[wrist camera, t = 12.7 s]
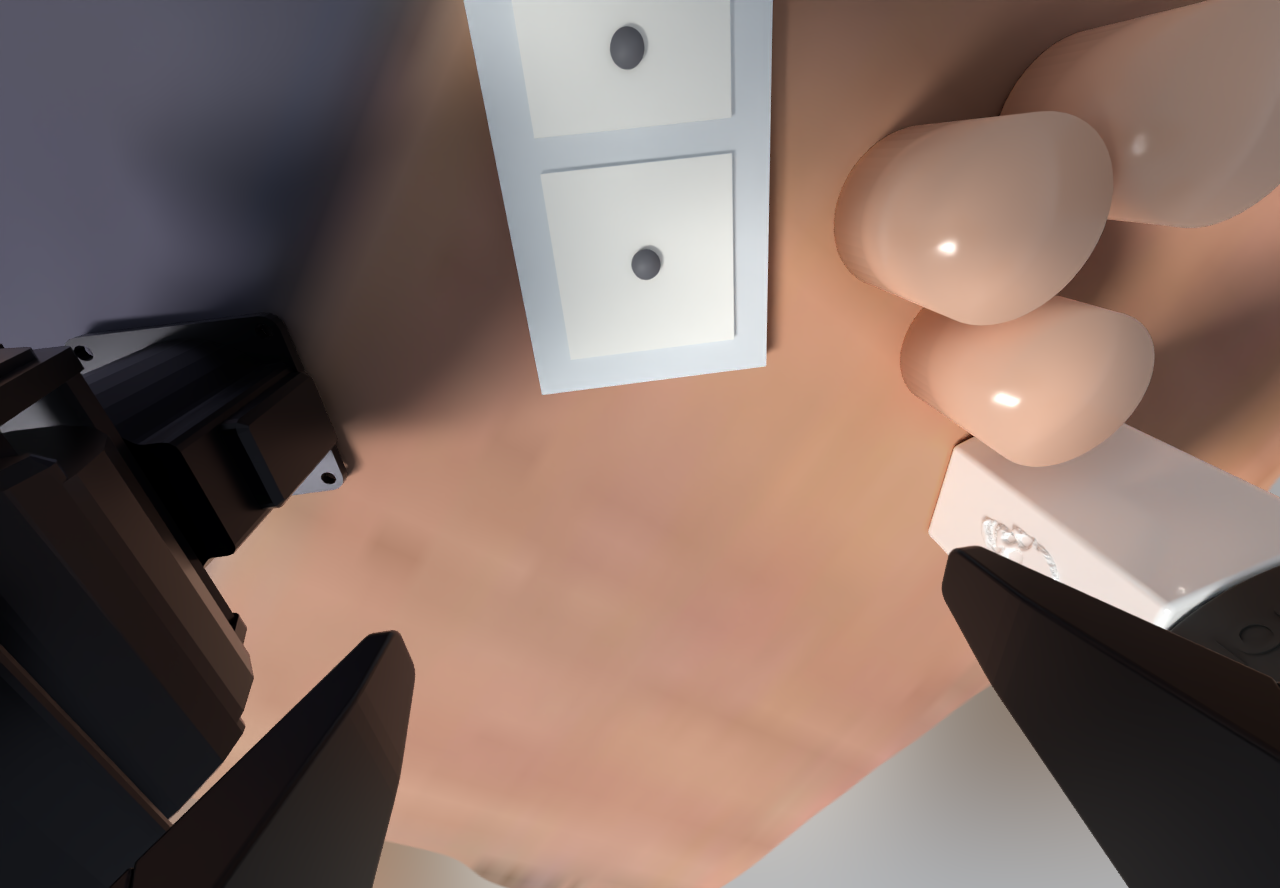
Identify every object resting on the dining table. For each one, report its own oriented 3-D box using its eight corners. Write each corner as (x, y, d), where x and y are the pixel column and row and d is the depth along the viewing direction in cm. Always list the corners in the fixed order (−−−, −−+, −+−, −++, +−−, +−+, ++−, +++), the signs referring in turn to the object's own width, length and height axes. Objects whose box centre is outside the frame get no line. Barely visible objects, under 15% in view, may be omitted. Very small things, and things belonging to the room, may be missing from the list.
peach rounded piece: (891, 412, 21) (973, 476, 17) (910, 285, 19) (1009, 322, 15) (1011, 396, 22) (1121, 455, 17) (1043, 269, 19) (1180, 300, 15)
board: (543, 386, 19) (541, 399, 18) (326, -721, 9) (294, -834, 8) (759, 358, 20) (769, 370, 19) (771, -735, 10) (796, -845, 9)
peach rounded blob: (964, 191, 18) (1099, 201, 13) (1049, 5, 15) (1243, -56, 11) (1082, 226, 19) (1242, 246, 14) (1176, 57, 16) (1399, 21, 12)
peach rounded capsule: (828, 296, 19) (904, 336, 14) (839, 133, 17) (934, 122, 12) (964, 279, 19) (1078, 313, 15) (994, 116, 17) (1142, 100, 12)
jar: (961, 395, 21) (1337, 624, 11) (1146, 387, 22) (1668, 593, 11) (909, 568, 26) (1143, 855, 15) (1066, 556, 26) (1394, 821, 16)
